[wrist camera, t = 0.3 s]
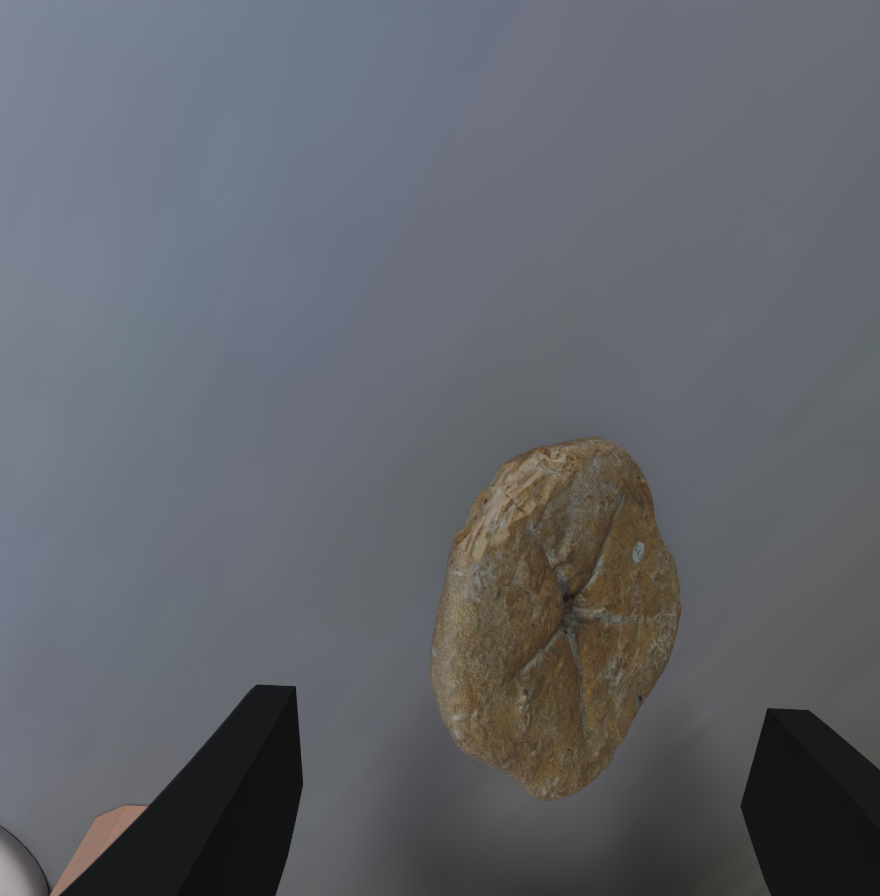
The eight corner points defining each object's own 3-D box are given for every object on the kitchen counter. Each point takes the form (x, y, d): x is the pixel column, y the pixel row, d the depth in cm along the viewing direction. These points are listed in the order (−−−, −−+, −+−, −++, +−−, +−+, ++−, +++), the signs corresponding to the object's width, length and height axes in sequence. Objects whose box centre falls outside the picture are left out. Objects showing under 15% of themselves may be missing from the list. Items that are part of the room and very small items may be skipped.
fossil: (581, 865, 17) (378, 660, 12) (472, 782, 20) (279, 596, 15) (720, 600, 20) (610, 359, 15) (608, 568, 24) (488, 361, 19)
